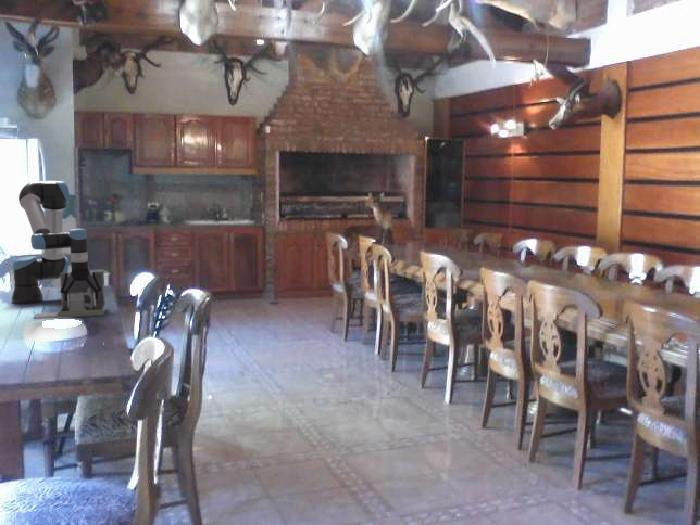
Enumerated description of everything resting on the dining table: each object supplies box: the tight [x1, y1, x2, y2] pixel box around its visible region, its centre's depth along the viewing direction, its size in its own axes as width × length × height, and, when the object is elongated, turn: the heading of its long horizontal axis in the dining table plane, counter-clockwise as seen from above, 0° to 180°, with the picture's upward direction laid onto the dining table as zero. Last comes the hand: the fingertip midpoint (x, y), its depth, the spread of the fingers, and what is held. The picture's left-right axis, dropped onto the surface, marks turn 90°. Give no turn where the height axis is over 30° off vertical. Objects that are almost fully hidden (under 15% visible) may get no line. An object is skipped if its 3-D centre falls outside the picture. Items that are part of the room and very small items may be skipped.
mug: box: [69, 287, 94, 311], centre depth 356 cm, size 8×12×12 cm, turn 119°
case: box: [57, 270, 106, 318], centre depth 356 cm, size 19×20×19 cm
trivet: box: [33, 311, 58, 319], centre depth 352 cm, size 10×10×1 cm
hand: (82, 306), depth 357 cm, fingers closed on mug, 11 cm apart
